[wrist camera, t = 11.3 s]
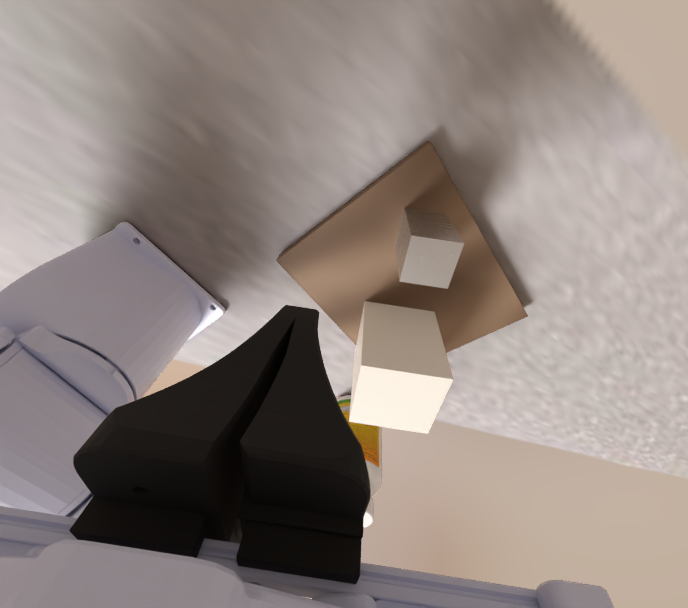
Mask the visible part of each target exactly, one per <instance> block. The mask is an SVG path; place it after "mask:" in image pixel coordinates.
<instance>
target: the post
mask: <svg viewBox="0 0 688 608" xmlns="http://www.w3.org/2000/svg"><path fill="white" fill-rule="evenodd" d="M463 246H464V242H463V240H462V239H461V237H460V236H459V234H458V232H457V231H456V229H455V227H454V226H453V224H452V223H451V221H450V219H449V218H448V216H447V215H445V214H439V213H432V212H425V211H419V210H412V209H405V208H404V212H403V216H402V220H401V225H400V229H399V233H398V237H397V242H396V246H395V251H396V259H397V267H398V274H399V282H406V283H413V284H419V285H426V286H432V287H439V288H446V289H448V287H449V284H450V281H451V278H452V276H453V273H454V270H455V267H456V265H457V262H458V259H459V257H460V254H461V251H462V248H463Z"/></svg>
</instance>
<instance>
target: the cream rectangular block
mask: <svg viewBox="0 0 688 608" xmlns="http://www.w3.org/2000/svg"><path fill="white" fill-rule="evenodd" d="M452 381H453V377H452V373H451V369H450V366H449V362H448V359H447V355H446V351H445V348H444V344H443V340H442V337H441V333H440V330H439V326H438V322H437V319H436V315H435V312H433V311H427V310H420V309H414V308H407V307H400V306H394V305H387V304H381V303H374V302H367V301H365V302H364V308H363V313H362V318H361V323H360V328H359V333H358V338H357V344H356V349H355V356H354V367H353V379H352V391H351V403H350V415H349V422H354V423H360V424H367V425H373V426H380V427H387V428H393V429H400V430H406V431H413V432H419V433H426V434H428V432H429V430H430V427H431V425H432V423H433V421H434V419H435V417H436V415H437V413H438V411H439V409H440V407H441V404H442V402H443V400H444V398H445V396H446V394H447V392H448V390H449V388H450V385H451V383H452Z"/></svg>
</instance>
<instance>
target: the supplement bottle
mask: <svg viewBox="0 0 688 608" xmlns="http://www.w3.org/2000/svg"><path fill="white" fill-rule="evenodd" d="M337 402H338V404H339V406H340V408H341V410H342V413H343V414H344V416H345V418H346V420H347V422H348V424H349V426H350V427H351V429H352V431H353V433H354V434H355V436H356V438H357V439H358V441H359V442H360V444H361V446H362V449H363V453H364V457H365V460H366V465H367V469H368V474H369V480H370V489H371V495H370V501H369V504H368V507H367V509H366V512H365V515H364V519H363V528H364V527H367V526H369V525H370V524H371V523H372V522H373V515H374V502H373V498H372V496H374V495H375V494H376V493H377V492H378V491H379V489H380V487H381V483H382V444H381V443H382V442H381V441H382V439H381V427H380V426H373V425H367V424H360V423H354V422H349V415H350V403H351V395H346V396H342V397H339V398H337Z"/></svg>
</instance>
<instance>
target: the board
mask: <svg viewBox="0 0 688 608" xmlns="http://www.w3.org/2000/svg"><path fill="white" fill-rule="evenodd" d="M404 208H405V209H412V210H419V211H425V212H432V213H439V214H445V215H447V216H448V218H449V219H450V221H451V223H452V224H453V226H454V227H455V229H456V231H457V232H458V234H459V236H460V237H461V239H462V240H463V242H464V246H463V248H462V251H461V254H460V257H459V259H458V262H457V265H456V267H455V270H454V273H453V276H452V278H451V281H450V284H449V287H448V289H446V288H439V287H432V286H426V285H419V284H413V283H406V282H399V274H398V267H397V259H396V251H395V246H396V242H397V237H398V233H399V229H400V225H401V220H402V216H403V212H404ZM276 261H277V262H278V263H279V264H280V265H281V266H282V267H283V268H284V269H285V270H286V271H287V272H288V274H289V275H290V276H291V277H292V278H293V279H294V280H295V281H296V282H297V283H298V284H299V285H300V286H301V287H302V288H303V289H304V290H305V292H306V293H307V294H308V295H309V296H310V297H311V298H312V299H313V300H314V301H315V302H316V303H317V304H318V305H319V306H320V307H321V308H322V310H323V311H324V312H325V313H326V314H327V315H328V316H329V317H330V318H331V319H332V320H333V321H334V322H335V323H336V324H337V325H338V327H339V328H340V329H341V330H342V331H343V332H344V333H345V334H346V335H347V336H348V337H349V338H350V339H351V340H352V341H353V342H354V343H355V345H356V344H357V338H358V333H359V328H360V323H361V318H362V313H363V308H364V302H365V301H367V302H374V303H381V304H387V305H394V306H400V307H407V308H414V309H420V310H427V311H433V312H435V315H436V319H437V322H438V326H439V330H440V333H441V337H442V340H443V344H444V348H445V351H446V353H447V352H449V351H451V350H454V349H456V348H458V347H460V346H463V345H465V344H467V343H469V342H472V341H474V340H476V339H478V338H480V337H483V336H485V335H487V334H489V333H492V332H494V331H496V330H498V329H501V328H503V327H505V326H507V325H510V324H512V323H514V322H516V321H519V320H521V319H523V318H525V317H527V316H528V315H527V313H526V312H525V310H524V308H523V306H522V304H521V303H520V301H519V299H518V297H517V295H516V294H515V292H514V290H513V288H512V287H511V285H510V283H509V281H508V279H507V278H506V276H505V274H504V272H503V271H502V269H501V267H500V265H499V263H498V262H497V260H496V258H495V256H494V255H493V253H492V251H491V249H490V247H489V246H488V244H487V242H486V240H485V239H484V237H483V235H482V233H481V231H480V230H479V228H478V226H477V224H476V223H475V221H474V219H473V217H472V215H471V214H470V212H469V210H468V208H467V206H466V205H465V203H464V201H463V199H462V198H461V196H460V194H459V192H458V190H457V189H456V187H455V185H454V183H453V182H452V180H451V178H450V176H449V174H448V173H447V171H446V169H445V167H444V166H443V164H442V162H441V160H440V158H439V157H438V155H437V153H436V151H435V150H434V148H433V146H432V144H431V143H430V142H429V141H427V142H426V143H425V144H423V145H422V146H421V147H419V148H418V149H417V150H416V151H414V152H413V153H412V154H410V155H409V156H408V157H406V158H405V159H404V160H403V161H401V162H400V163H399V164H397V165H396V166H395V167H393V168H392V169H391V170H390V171H388V172H387V173H386V174H384V175H383V176H382V177H380V178H379V179H378V180H376V181H375V182H374V183H373V184H371V185H370V186H369V187H367V188H366V189H365V190H363V191H362V192H361V193H360V194H358V195H357V196H356V197H354V198H353V199H352V200H350V201H349V202H348V203H346V204H345V205H344V206H343V207H341V208H340V209H339V210H337V211H336V212H335V213H333V214H332V215H331V216H330V217H328V218H327V219H326V220H324V221H323V222H322V223H320V224H319V225H318V226H317V227H315V228H314V229H313V230H311V231H310V232H309V233H307V234H306V235H305V236H303V237H302V238H301V239H300V240H298V241H297V242H296V243H294V244H293V245H292V246H290V247H289V248H288V249H287V250H285V251H284V252H283V253H281V254H280V255H279V257H278V258H277V260H276Z"/></svg>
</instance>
